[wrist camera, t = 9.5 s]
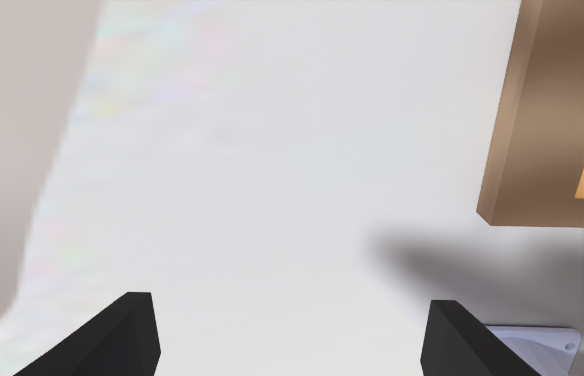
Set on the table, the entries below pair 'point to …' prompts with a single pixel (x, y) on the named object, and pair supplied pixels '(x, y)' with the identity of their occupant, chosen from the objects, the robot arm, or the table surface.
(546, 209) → the board
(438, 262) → the table surface
